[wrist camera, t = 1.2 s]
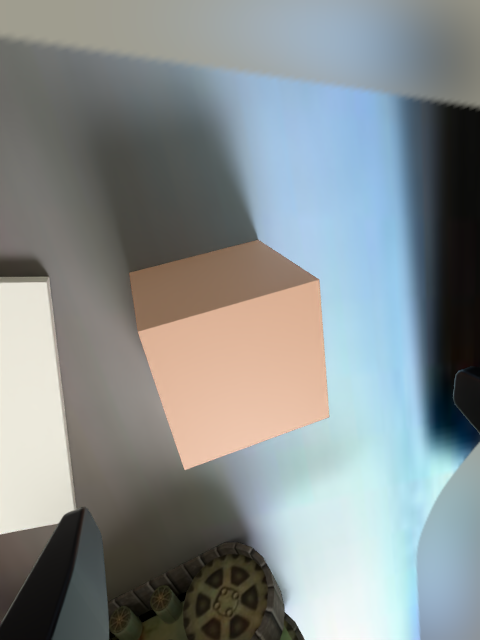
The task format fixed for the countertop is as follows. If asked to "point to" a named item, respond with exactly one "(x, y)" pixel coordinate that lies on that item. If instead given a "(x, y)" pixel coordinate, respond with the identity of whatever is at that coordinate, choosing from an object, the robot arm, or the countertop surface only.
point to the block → (232, 347)
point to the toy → (207, 601)
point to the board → (31, 410)
